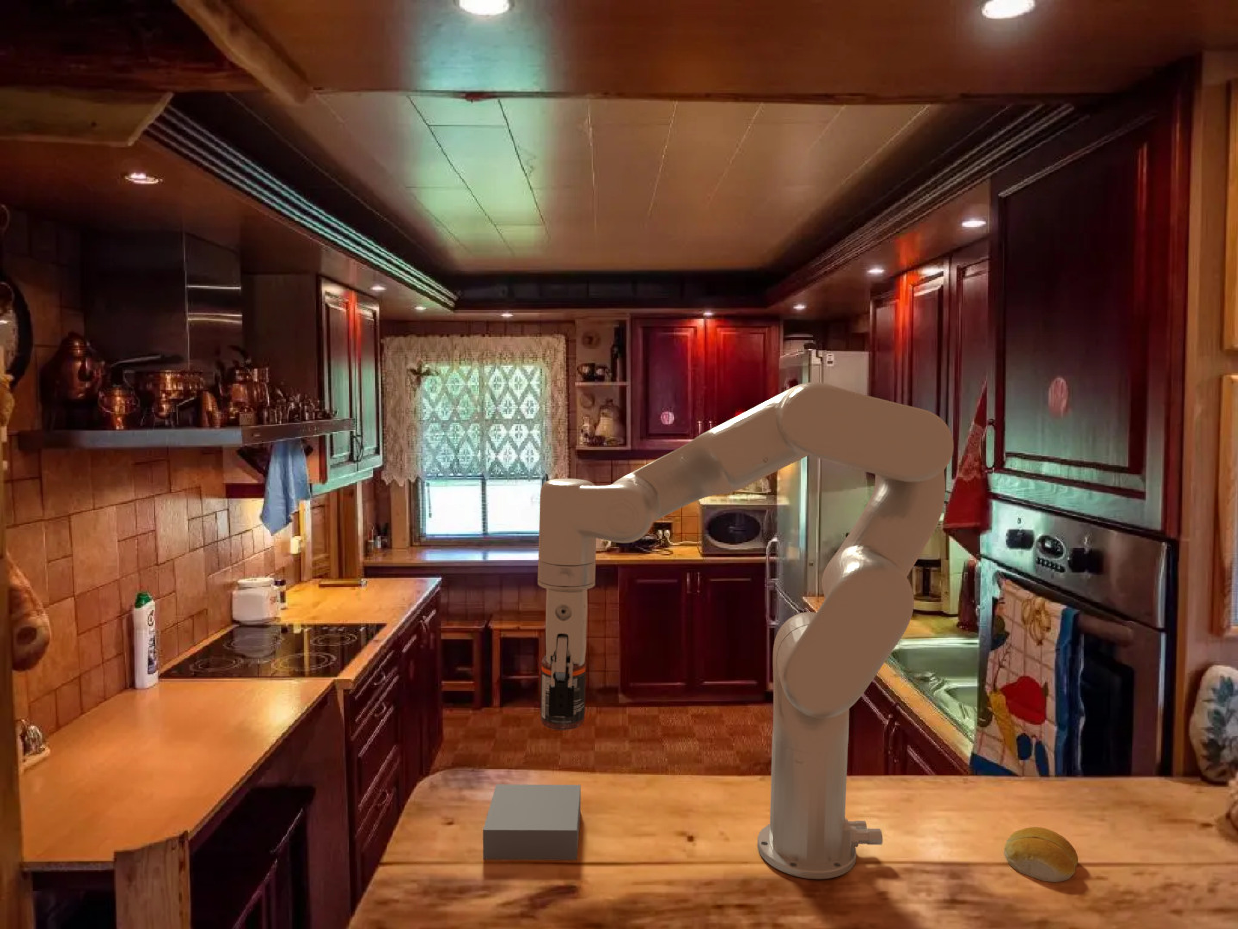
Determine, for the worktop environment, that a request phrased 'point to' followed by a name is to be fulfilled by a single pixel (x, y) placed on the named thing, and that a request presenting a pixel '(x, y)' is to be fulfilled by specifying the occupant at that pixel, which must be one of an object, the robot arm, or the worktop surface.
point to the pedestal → (532, 823)
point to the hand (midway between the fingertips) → (562, 704)
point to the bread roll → (1041, 854)
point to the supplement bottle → (579, 697)
